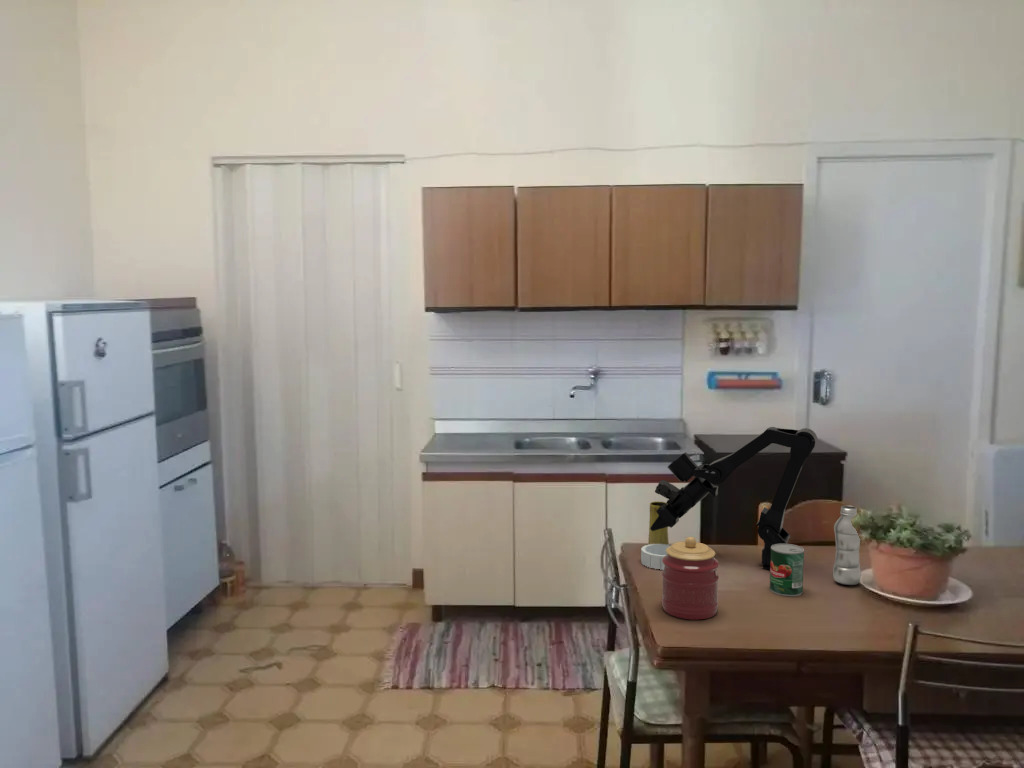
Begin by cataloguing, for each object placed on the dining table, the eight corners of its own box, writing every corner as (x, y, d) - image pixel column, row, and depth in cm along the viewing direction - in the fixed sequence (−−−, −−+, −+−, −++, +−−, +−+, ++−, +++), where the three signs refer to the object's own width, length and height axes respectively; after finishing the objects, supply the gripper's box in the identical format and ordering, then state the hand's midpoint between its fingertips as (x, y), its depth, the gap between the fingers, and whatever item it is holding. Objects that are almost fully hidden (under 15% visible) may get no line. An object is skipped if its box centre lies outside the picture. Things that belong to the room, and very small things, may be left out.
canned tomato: (765, 592, 191) (766, 549, 190) (775, 582, 197) (776, 541, 196) (797, 599, 186) (798, 555, 185) (807, 589, 192) (808, 547, 191)
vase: (664, 555, 219) (665, 507, 218) (644, 552, 222) (644, 504, 221) (672, 550, 224) (672, 502, 223) (652, 546, 227) (652, 500, 226)
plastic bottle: (865, 588, 193) (868, 510, 191) (838, 588, 193) (840, 510, 191) (854, 579, 199) (857, 504, 197) (828, 579, 199) (830, 504, 197)
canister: (677, 623, 172) (678, 547, 170) (652, 602, 184) (652, 531, 183) (728, 617, 175) (730, 542, 174) (700, 596, 188) (701, 527, 186)
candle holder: (686, 560, 215) (686, 547, 214) (675, 572, 205) (675, 558, 205) (648, 554, 220) (648, 541, 220) (636, 566, 210) (636, 552, 210)
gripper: (680, 466, 227) (644, 498, 233) (663, 479, 211) (625, 513, 217) (706, 494, 225) (669, 526, 231) (692, 510, 208) (652, 544, 214)
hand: (653, 527), depth 223 cm, fingers closed on vase, 5 cm apart
